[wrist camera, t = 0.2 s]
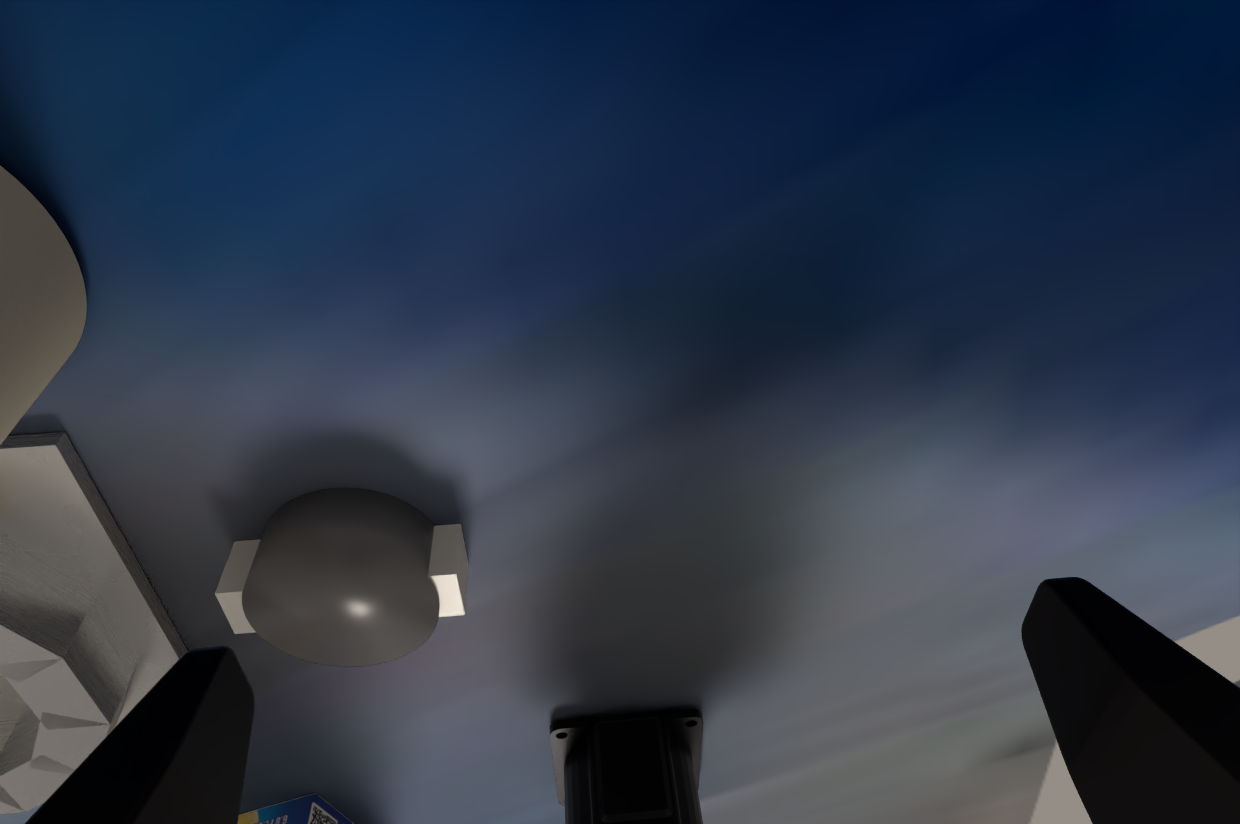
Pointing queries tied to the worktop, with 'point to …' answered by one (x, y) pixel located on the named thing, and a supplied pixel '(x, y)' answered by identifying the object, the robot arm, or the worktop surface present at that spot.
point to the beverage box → (296, 813)
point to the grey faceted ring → (66, 620)
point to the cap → (345, 578)
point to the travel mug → (33, 300)
